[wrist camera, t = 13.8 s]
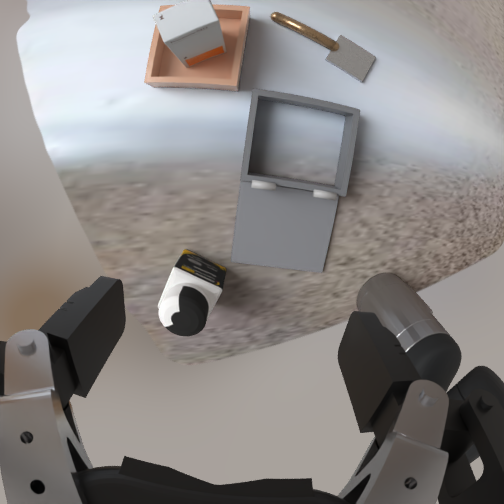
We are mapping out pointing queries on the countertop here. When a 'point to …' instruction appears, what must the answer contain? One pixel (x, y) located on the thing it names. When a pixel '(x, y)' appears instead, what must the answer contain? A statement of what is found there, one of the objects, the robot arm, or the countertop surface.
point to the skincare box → (191, 31)
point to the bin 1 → (211, 70)
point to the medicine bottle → (190, 294)
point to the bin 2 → (290, 201)
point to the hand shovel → (334, 48)
